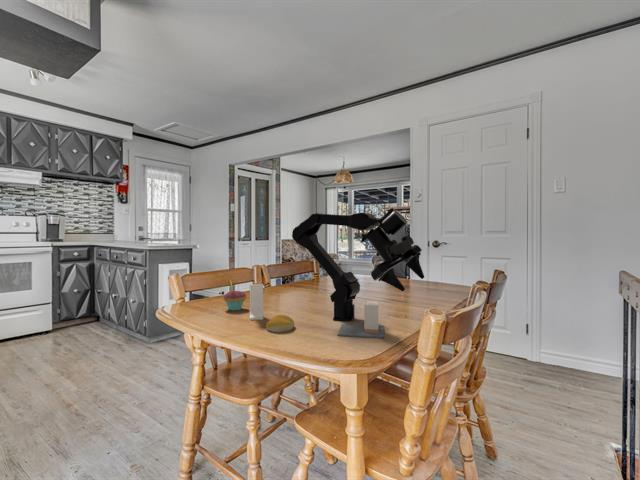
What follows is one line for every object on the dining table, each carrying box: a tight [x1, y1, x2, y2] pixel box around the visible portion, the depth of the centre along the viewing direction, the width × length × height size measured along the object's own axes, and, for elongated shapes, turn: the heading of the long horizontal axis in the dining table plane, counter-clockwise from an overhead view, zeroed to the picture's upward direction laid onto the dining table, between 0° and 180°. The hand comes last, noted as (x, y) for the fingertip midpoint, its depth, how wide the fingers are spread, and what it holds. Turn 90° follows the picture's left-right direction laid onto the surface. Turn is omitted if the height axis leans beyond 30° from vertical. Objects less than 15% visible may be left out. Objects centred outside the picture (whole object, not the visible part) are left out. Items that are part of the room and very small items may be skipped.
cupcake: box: [223, 278, 247, 311], centre depth 130 cm, size 9×8×12 cm
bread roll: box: [265, 314, 295, 333], centre depth 104 cm, size 8×9×4 cm
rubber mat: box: [337, 323, 385, 339], centre depth 101 cm, size 13×11×1 cm
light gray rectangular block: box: [249, 283, 264, 321], centre depth 117 cm, size 5×6×12 cm
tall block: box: [363, 301, 380, 333], centre depth 100 cm, size 4×5×8 cm
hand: (413, 284), depth 102 cm, fingers open, 9 cm apart
